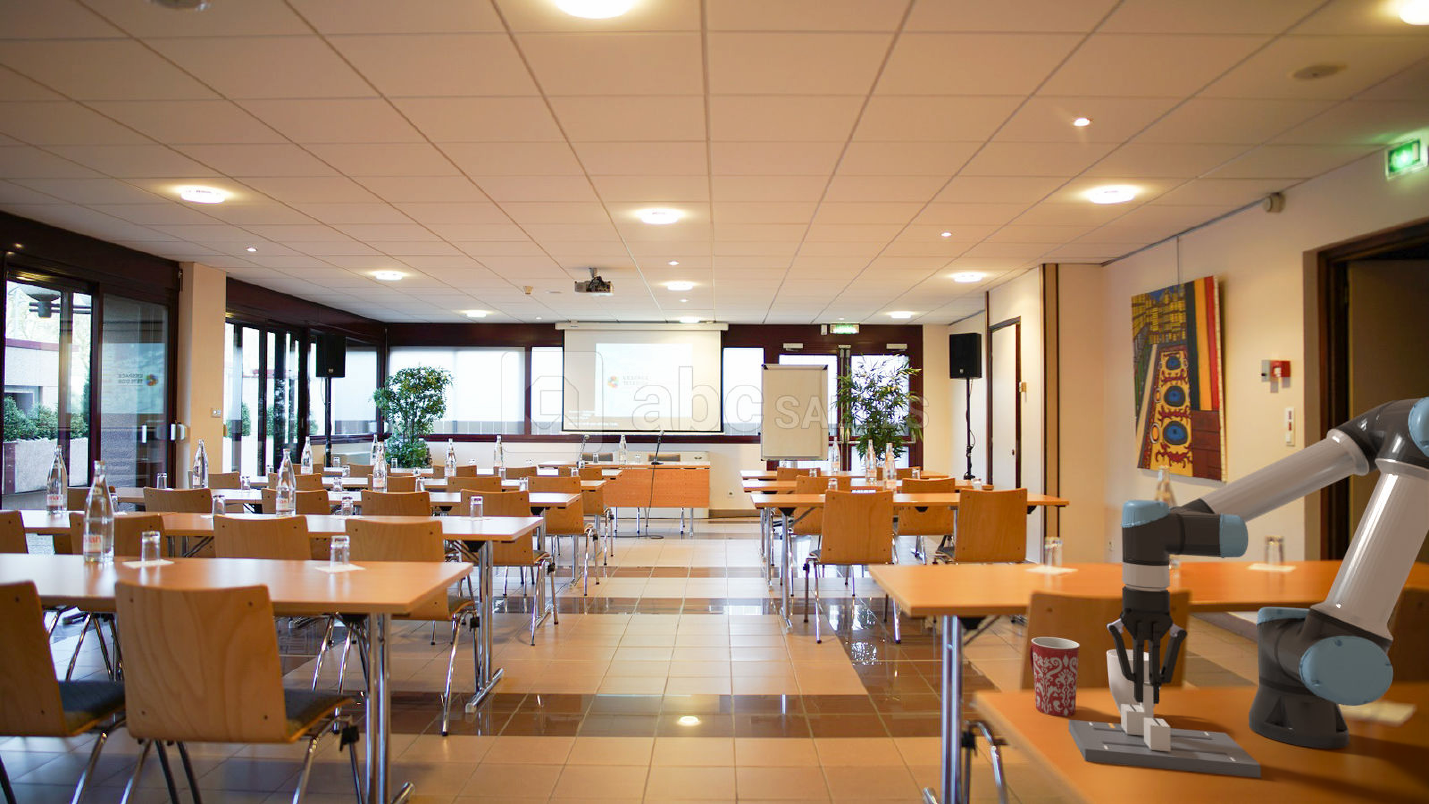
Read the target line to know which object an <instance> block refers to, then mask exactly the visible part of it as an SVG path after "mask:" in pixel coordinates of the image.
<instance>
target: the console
mask: <svg viewBox="0 0 1429 804" xmlns="http://www.w3.org/2000/svg"><path fill="white" fill-rule="evenodd" d="M1068 732H1069V734H1070V736H1071V737H1072V739H1073V740H1074V742H1075V745H1076V747H1077V748H1078V750H1079V752H1080V753H1081V756H1082V757H1083V759H1084V761H1085V762H1089V763H1090V762H1091V763H1092V762H1093V763H1103V764H1113V765H1123V766H1133V767H1135V766H1136V767H1145V768H1154V769H1155V768H1156V769H1163V770H1166V769H1167V770H1173V771H1175V770H1176V771H1177V770H1178V771H1184V772H1185V771H1186V772H1187V771H1188V772H1196V773H1206V774H1207V773H1208V774H1217V775H1226V776H1227V775H1228V776H1237V777H1238V776H1239V777H1248V778H1258V779H1261V778H1262V770H1261V764H1260V763H1259V762H1258V761H1257V760H1256V759H1255V758H1254V757H1253V756H1251V755H1250V754H1249V753H1248V752H1247V751H1246V750H1245V749H1244V748H1243V747H1242V746H1241V745H1239V744H1238V743H1237V742H1236V741H1235V740H1234V739H1233V738H1232V737H1231V736H1229V734H1227V733H1226V732H1220V731H1218V732H1217V731H1216V732H1215V731H1205V730H1195V729H1194V730H1193V729H1181V728H1171V727H1170V751H1161V750H1151V749H1150V748H1149V747H1148V746H1147V744H1146V743H1145V742H1144V736H1143V735H1132V734H1126V732H1125V731H1124V729H1123V728H1122V727H1121V723H1113V722H1101V721H1100V722H1099V721H1088V720H1087V721H1086V720H1078V719H1076V720H1075V719H1068Z"/></svg>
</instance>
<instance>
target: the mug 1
mask: <svg viewBox="0 0 1429 804" xmlns="http://www.w3.org/2000/svg"><path fill="white" fill-rule="evenodd" d="M1080 648H1081V644H1080V643H1078V642H1076V641H1073V640H1071V639H1067V638H1060V637H1053V636H1051V637H1050V636H1039V637H1035V638H1034V637H1033V638H1032V639H1031V645H1030V648H1029V662H1030V663H1029V664H1030V668H1031V671H1032V674H1033V677H1034V678H1033V679H1034V698H1035V699H1034V701H1035V707H1036V710H1038V712H1040V713H1044V714H1046V715H1051V716H1057V717H1069V716H1073V715H1075V713H1076V704H1077V703H1076V700H1077V682H1078V667H1079V666H1078V665H1079V650H1080Z"/></svg>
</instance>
